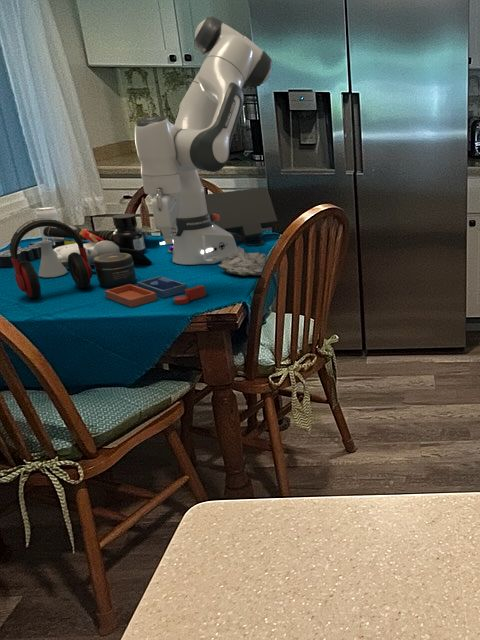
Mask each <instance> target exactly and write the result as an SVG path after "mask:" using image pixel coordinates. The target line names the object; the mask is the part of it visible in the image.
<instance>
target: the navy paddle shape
mask: <svg viewBox="0 0 480 640" xmlns="http://www.w3.org/2000/svg"><path fill="white" fill-rule="evenodd" d="M165 278H166V277H165ZM165 278H159V279H157V280H158V281H154V282H151V283H150V285H151V286H152V287H155V288H158V289H162V290H166V289H169V288H173V287H174V285H173V281H171V280H172V279H171V280H168V279H169V278H168V279H165Z"/></svg>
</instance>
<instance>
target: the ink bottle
mask: <svg viewBox="0 0 480 640" xmlns="http://www.w3.org/2000/svg"><path fill="white" fill-rule="evenodd" d="M112 222H113V226H114V227H115V228H116V230H114V231H115V232H114V233H113V239H114V243H115V244H116V245H117V246H119V248H126V249H135V250H139V251H141V252H142V253H144V252H145V251H146V244H145V238H143V234H142V231H141V230H140V229H138V228H137V227H138V221H137V217H136V214H134V213H119V214H114V215H113V216H112Z"/></svg>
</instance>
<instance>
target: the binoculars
mask: <svg viewBox="0 0 480 640" xmlns="http://www.w3.org/2000/svg"><path fill="white" fill-rule="evenodd" d="M83 245H84V247H85V248H86V249H92V250H93V249H94V247H95V245H96V243H95V242H92V241H88V243H85V244H83ZM53 250H54V253H55V254H56V256H57V257H58V259H59V260H66V259H68V256H69V254H70V253H73V252H76V253H78V254H80V252H79V248H78V245H77V243H75V244H70V245H64V246H60V247H57V248H55V249H53Z"/></svg>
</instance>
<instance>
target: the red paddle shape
mask: <svg viewBox="0 0 480 640" xmlns="http://www.w3.org/2000/svg"><path fill="white" fill-rule="evenodd" d="M184 294H185V295H177V296H175V297H173V301H174V304H175V305H185V304H188V303H189V302H191V301H194V300H197V299H200V298H204V297H206V296H207V293H206V287H205V285H203V284H199V285H196V286H192V287H189V288H187V289H185V292H184Z"/></svg>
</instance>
